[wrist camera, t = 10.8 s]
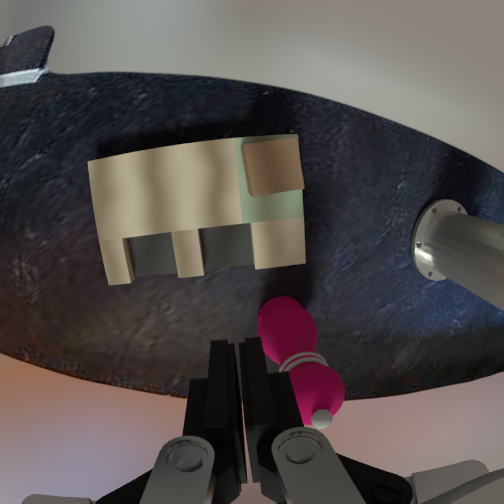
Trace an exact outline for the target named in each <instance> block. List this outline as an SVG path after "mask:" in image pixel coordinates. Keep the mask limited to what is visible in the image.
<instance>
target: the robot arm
mask: <svg viewBox="0 0 504 504" xmlns="http://www.w3.org/2000/svg"><path fill="white" fill-rule="evenodd" d="M411 250H412V257H413V262H414V264H415V266H416V268H417V270H418V271H419V272H420V273H421V274H422V275H423V276H425V277H426V278H428V279H431V280H434V281H439V280H444V279H446V278H449V279H450V280H452V281H454V282H456V283H457V284H459V285H461V286H463V287H464V288H466V289H468V290H469V291H471V292H473V293H474V294H476V295H478V296H479V297H481V298H483V299H484V300H486V301H488V302H489V303H491V304H492V305H494V306H496V307H497V308H499V309H501V310H502V311H504V225H501V224H498V223H494V222H491V221H488V220H484V219H481V218H477V217H474V216H470V215H468V214H467V212H466V210H465V209H464V208H463V206H462V205H461V204H459V203H458V202H456V201H454V200H450V199H440V200H437V201H434V202H433V203H431V204H430V205H429V206H428V207H427V208H425V210H424V211H423V212H422V214H421V215H420V217H419V219H418V220H417V222H416V225H415V228H414V231H413V236H412V243H411ZM239 352H240V367H241V382H242V396H243V410H244V422H245V431H246V439H247V445H248V452H249V459H250V466H251V472H252V479H253V483H256V482H260V483H261V492H262V494H263V495H264V496H266V497H268V498H269V499H271V500H273V501H274V503H275V504H504V468H503V469H500V470H496V471H493V472H490V473H489V471H488V469H487V468H486V466H485V465H484V464H483V463H481V462H480V461H476V460H468V461H463V462H460V463H456V464H453V465H449V466H445V467H441V468H436V469H432V470H427V471H423V472H417V473H412V475H411V476H410V477H404V478H403V477H401V476H399V475H397V474H393V473H390V472H387V471H384V470H381V469H378V468H375V467H372V466H369V465H366V464H364V463H361V462H358V461H356V460H353V459H350V458H348V457H345V456H342V455H340V454H338V453H335V451H334V449H333V448H332V446H331V444H330V443H329V441H328V439H327V438H326V437H325V436H324V434H322V433H321V432H319V431H317V430H315V429H312V428H309V427H304V424H303V421H302V417H301V414H300V410H299V407H298V403H297V400H296V396H295V393H294V389H293V386H292V382H291V379H290V375H289V372H288V371H284V372H276V373H268V371H267V366H266V361H265V356H264V350H263V345H262V340H261V337H252V338H245V342H243V343H239ZM243 483H247V470H246V457H245V444H244V430H243V416H242V403H241V395H240V388H239V380H238V372H237V364H236V356H235V347H234V343H231V344H228V341H227V340H216V341H211V347H210V358H209V370H208V378H203V379H191V381H190V386H189V393H188V400H187V406H186V414H185V420H184V428H183V435H182V436H181V437H177V438H174V439H172V440H170V441H168V442H167V443H166V444H165V445H164V446H163V447H162V449H161V450H160V452H159V454H158V457H157V460H156V462H155V465H154V467H153V469H151V470H150V471H148V472H146V473H144V474H143V475H141V476H139V477H138V478H136V479H134V480H132V481H131V482H129V483H127V484H125V485H124V486H122V487H120V488H118V489H116V490H114V491H113V492H111V493H109V494H107V495H105V496H103V497H102V498H100V499H99V500H97V501H92V500H91V499H90V498H75V497H60V496H49V495H40V494H33V495H30V496H28V497H26V498H25V499H24V500H23V502H22V504H230V503H231V502H232V501H234V500H235V499H236V498H237V497H238V496H239V492H241V484H243Z"/></svg>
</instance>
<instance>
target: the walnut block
mask: <svg viewBox="0 0 504 504" xmlns="http://www.w3.org/2000/svg"><path fill="white" fill-rule="evenodd" d="M240 149H241V155H242V160H243V166H244V171H245V177H246V183H247V188H248V193H249V194H250V195H251V196H252V197H258V196H263V195H269V194H275V193H281V192H287V191H293V190H299V189H305V188H304V181H303V175H302V168H301V162H300V156H299V150H298V144H297V138H296V137H294V138H286V139H278V140H271V141H265V142H258V143H252V144H246V145H243V146H242V147H241V148H240Z"/></svg>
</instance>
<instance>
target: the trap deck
mask: <svg viewBox="0 0 504 504" xmlns="http://www.w3.org/2000/svg"><path fill="white" fill-rule="evenodd" d="M294 137H296V138H297V144H298V134H286V135H267V136H253V137H240V138H230V139H220V140H211V141H202V142H194V143H187V144H179V145H173V146H166V147H160V148H154V149H148V150H142V151H137V152H131V153H126V154H121V155H116V156H111V157H107V158H102V159H98V160H93V161H89V162H88V168H89V177H90V186H91V193H92V201H93V207H94V214H95V220H96V226H97V231H98V237H99V242H100V247H101V252H102V257H103V261H104V266H105V270H106V275H107V279H108V283H109V285H116V284H126V283H131V282H132V281H133V279H134V278H135V277H143V276H152V275H162V274H171V273H178V277H179V278H184V277H194V276H203V275H204V272H205V270H207V269H216V268H225V267H234V266H242V265H251V264H254V266H255V269H264V268H272V267H280V266H288V265H297V264H305V263H306V254H305V232H304V213H303V197H302V189H299V190H293V191H287V192H281V193H275V194H269V195H263V196H258V197H252V196H251V195H250V194H249V193H248V188H247V183H246V177H245V171H244V166H243V160H242V155H241V149H240V148H241V147H242V146H243V145H246V144H252V143H258V142H265V141H271V140H278V139H286V138H294ZM298 150H299V144H298Z"/></svg>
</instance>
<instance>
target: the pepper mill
mask: <svg viewBox="0 0 504 504" xmlns="http://www.w3.org/2000/svg"><path fill="white" fill-rule="evenodd" d="M258 324H259V327H258V337H261V340H262V345H263V350H264V352H265V353H266V355H267V356H268V357H270V358H271V359H272V360H273V361H275V362H277V363H278V364H279V365H280V370H279V372H284V371H288V372H289V375H290V379H291V382H292V386H293V389H294V393H295V396H296V400H297V403H298V407H299V410H300V414H301V417H302V421H303V424H305V425H313V426H314V427H316V428H318V429H324V428H326V427H328V426H329V425H330V424H331V422H332V416H333V415H335V414H336V413H337V411H338V410H339V409H340V407H341V405H342V403H343V401H344V393H345V389H344V385H343V382H342V379H341V378H340V376H339V375H338V373H337V372H336V371H334V370H333V369H331V368H330V367H329V366H328V365H327V363H326V361H325V359H324V358H323V357H322V356H321V355H319V354H317V353H315V348H316V343H317V327H316V324H315V321H314V319H313V317H312V316H311V314H310V313H309V312H308V311H306V310H305V309H304V308H302V306H301V304H300V303H299V302H298V301H297V300H295V299H293V298H291V297H287V296H279V297H275V298H272V299H270V300H269V301H267V302H266V303H265V304H264V305H263V306H262V307H261V309H260V311H259V314H258Z"/></svg>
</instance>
